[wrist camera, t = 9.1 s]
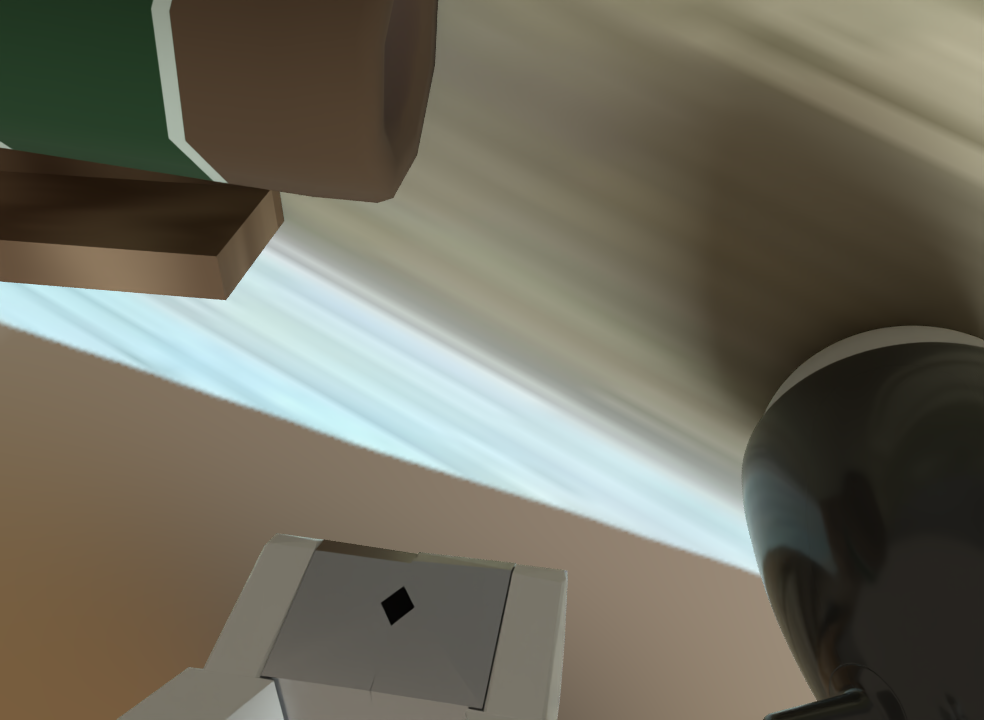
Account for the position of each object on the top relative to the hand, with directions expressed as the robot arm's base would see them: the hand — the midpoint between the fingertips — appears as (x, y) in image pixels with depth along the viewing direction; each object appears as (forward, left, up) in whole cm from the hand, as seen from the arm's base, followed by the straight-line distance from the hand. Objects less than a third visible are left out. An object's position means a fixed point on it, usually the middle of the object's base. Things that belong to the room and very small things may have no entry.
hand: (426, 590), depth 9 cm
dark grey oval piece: (-11, +13, -21) cm, 27 cm away
